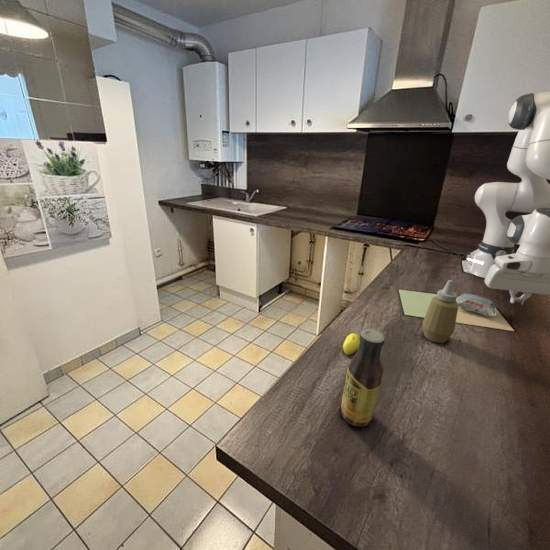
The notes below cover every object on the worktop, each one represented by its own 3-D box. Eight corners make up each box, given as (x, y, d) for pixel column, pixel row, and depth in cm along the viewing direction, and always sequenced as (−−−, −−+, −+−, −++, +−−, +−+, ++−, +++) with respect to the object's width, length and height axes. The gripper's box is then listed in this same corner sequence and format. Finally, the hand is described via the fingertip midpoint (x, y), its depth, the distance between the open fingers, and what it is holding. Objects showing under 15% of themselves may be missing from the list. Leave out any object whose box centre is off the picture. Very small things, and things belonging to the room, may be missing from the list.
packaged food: (493, 322, 92) (498, 308, 90) (451, 309, 99) (455, 296, 97) (496, 312, 98) (500, 299, 96) (456, 300, 105) (460, 288, 103)
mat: (398, 289, 113) (398, 289, 113) (489, 301, 105) (489, 301, 105) (404, 314, 95) (404, 314, 95) (514, 331, 88) (514, 331, 88)
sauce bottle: (336, 404, 61) (347, 323, 53) (365, 402, 61) (380, 322, 54) (346, 431, 55) (360, 345, 47) (377, 429, 55) (397, 344, 48)
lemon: (338, 353, 76) (339, 341, 75) (349, 339, 82) (351, 327, 81) (353, 360, 74) (355, 347, 73) (363, 344, 80) (365, 332, 79)
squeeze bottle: (447, 332, 86) (464, 277, 79) (453, 348, 79) (472, 289, 72) (418, 327, 89) (431, 273, 82) (421, 342, 82) (436, 284, 75)
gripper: (566, 263, 89) (549, 303, 94) (489, 256, 94) (477, 294, 99) (580, 271, 83) (560, 313, 88) (497, 262, 88) (484, 302, 93)
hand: (515, 303), depth 94 cm, fingers closed
